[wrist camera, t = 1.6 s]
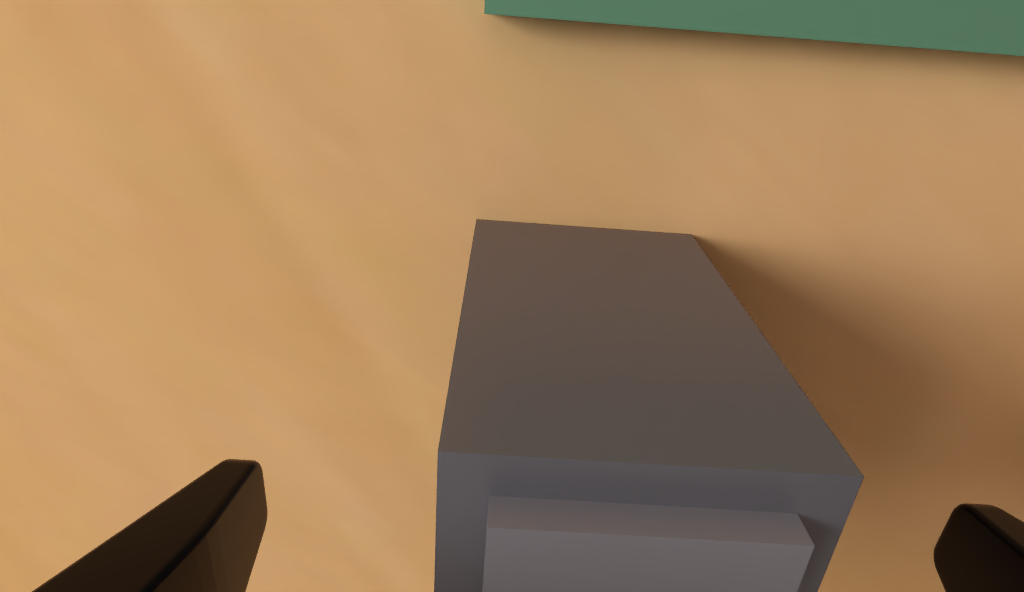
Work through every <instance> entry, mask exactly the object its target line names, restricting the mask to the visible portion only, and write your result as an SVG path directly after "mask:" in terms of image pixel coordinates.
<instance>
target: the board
mask: <svg viewBox="0 0 1024 592" xmlns="http://www.w3.org/2000/svg"><path fill="white" fill-rule="evenodd" d="M484 14H494V15H507V16H519V17H532V18H545V19H558V20H570V21H583V22H596V23H609V24H621V25H634V26H647V27H659V28H672V29H685V30H698V31H710V32H723V33H736V34H749V35H761V36H774V37H787V38H799V39H812V40H825V41H838V42H850V43H863V44H876V45H889V46H901V47H914V48H927V49H939V50H952V51H965V52H978V53H990V54H1003V55H1016V56H1024V0H485V10H484Z"/></svg>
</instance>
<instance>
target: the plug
mask: <svg viewBox="0 0 1024 592" xmlns="http://www.w3.org/2000/svg"><path fill="white" fill-rule="evenodd" d="M863 478H864V476H863V475H862V473H861V472H860V470H859V469H858V468H857V466H856V465H855V463H854V462H853V461H852V459H851V458H850V456H849V455H848V454H847V452H846V451H845V449H844V448H843V447H842V445H841V444H840V442H839V441H838V439H837V438H836V437H835V435H834V434H833V432H832V431H831V430H830V428H829V427H828V425H827V424H826V423H825V421H824V420H823V418H822V417H821V416H820V414H819V413H818V411H817V410H816V409H815V407H814V406H813V404H812V403H811V402H810V400H809V399H808V397H807V396H806V394H805V393H804V392H803V390H802V389H801V387H800V386H799V385H798V383H797V382H796V380H795V379H794V378H793V376H792V375H791V373H790V372H789V371H788V369H787V368H786V366H785V365H784V364H783V362H782V361H781V359H780V358H779V357H778V355H777V354H776V352H775V351H774V350H773V348H772V347H771V345H770V344H769V342H768V341H767V340H766V338H765V337H764V335H763V334H762V333H761V331H760V330H759V328H758V327H757V326H756V324H755V323H754V321H753V320H752V319H751V317H750V316H749V314H748V313H747V312H746V310H745V309H744V307H743V306H742V305H741V303H740V302H739V300H738V299H737V297H736V296H735V295H734V293H733V292H732V290H731V289H730V288H729V286H728V285H727V283H726V282H725V281H724V279H723V278H722V276H721V275H720V274H719V272H718V271H717V269H716V268H715V267H714V265H713V264H712V262H711V261H710V260H709V258H708V257H707V255H706V254H705V253H704V251H703V250H702V248H701V247H700V245H699V244H698V243H697V241H696V240H695V238H694V237H693V236H692V234H678V233H664V232H649V231H635V230H621V229H607V228H593V227H578V226H564V225H550V224H536V223H521V222H507V221H493V220H479V219H476V225H475V231H474V237H473V243H472V249H471V255H470V261H469V267H468V273H467V279H466V285H465V291H464V297H463V303H462V309H461V315H460V322H459V328H458V334H457V340H456V346H455V352H454V358H453V364H452V370H451V376H450V382H449V388H448V394H447V400H446V406H445V412H444V418H443V424H442V430H441V436H440V442H439V448H438V469H437V507H436V545H435V583H434V592H818V589H819V587H820V584H821V582H822V579H823V577H824V574H825V572H826V569H827V567H828V564H829V562H830V559H831V557H832V555H833V552H834V550H835V547H836V545H837V542H838V540H839V537H840V535H841V532H842V530H843V527H844V525H845V522H846V520H847V517H848V515H849V513H850V510H851V508H852V505H853V503H854V500H855V498H856V495H857V493H858V490H859V488H860V485H861V483H862V480H863Z"/></svg>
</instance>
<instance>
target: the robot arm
mask: <svg viewBox="0 0 1024 592" xmlns="http://www.w3.org/2000/svg"><path fill="white" fill-rule="evenodd" d="M266 521H267V503H266V495H265V487H264V480H263V472H262V468H261V466H260V464H259V463H258V462H256V461H254V460H237V459H228V460H225V461H222V462H221V463H219V464H218V465H216V466H215V467H213V468H212V469H210V470H209V471H207V472H206V473H205V474H203V475H202V476H200V477H199V478H197V479H196V480H194V481H193V482H191V483H190V484H188V485H187V486H186V487H184V488H183V489H181V490H180V491H178V492H177V493H175V494H174V495H172V496H171V497H169V498H168V499H167V500H165V501H164V502H162V503H161V504H159V505H158V506H156V507H155V508H153V509H152V510H150V511H149V512H148V513H146V514H145V515H143V516H142V517H140V518H139V519H137V520H136V521H134V522H133V523H131V524H130V525H129V526H127V527H126V528H124V529H123V530H121V531H120V532H118V533H117V534H115V535H114V536H113V537H111V538H110V539H108V540H107V541H105V542H104V543H102V544H101V545H99V546H98V547H96V548H95V549H94V550H92V551H91V552H89V553H88V554H86V555H85V556H83V557H82V558H80V559H79V560H77V561H76V562H75V563H73V564H72V565H70V566H69V567H67V568H66V569H64V570H63V571H61V572H60V573H58V574H57V575H56V576H54V577H53V578H51V579H50V580H48V581H47V582H45V583H44V584H42V585H41V586H39V587H38V588H37V589H35V590H34V591H32V592H245V591H246V588H247V585H248V581H249V578H250V575H251V572H252V569H253V565H254V562H255V559H256V556H257V553H258V549H259V546H260V543H261V540H262V537H263V533H264V530H265V526H266ZM934 563H935V567H936V570H937V572H938V575H939V577H940V579H941V582H942V584H943V586H944V589H945V591H946V592H1024V522H1022V521H1020V520H1019V519H1017V518H1015V517H1014V516H1012V515H1010V514H1009V513H1007V512H1005V511H1003V510H1002V509H1000V508H998V507H995V506H992V505H983V504H960V505H959V506H957V507H956V508H954V510H953V511H952V513H951V515H950V517H949V519H948V521H947V523H946V525H945V527H944V529H943V531H942V533H941V535H940V537H939V539H938V541H937V543H936V546H935V548H934Z"/></svg>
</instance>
